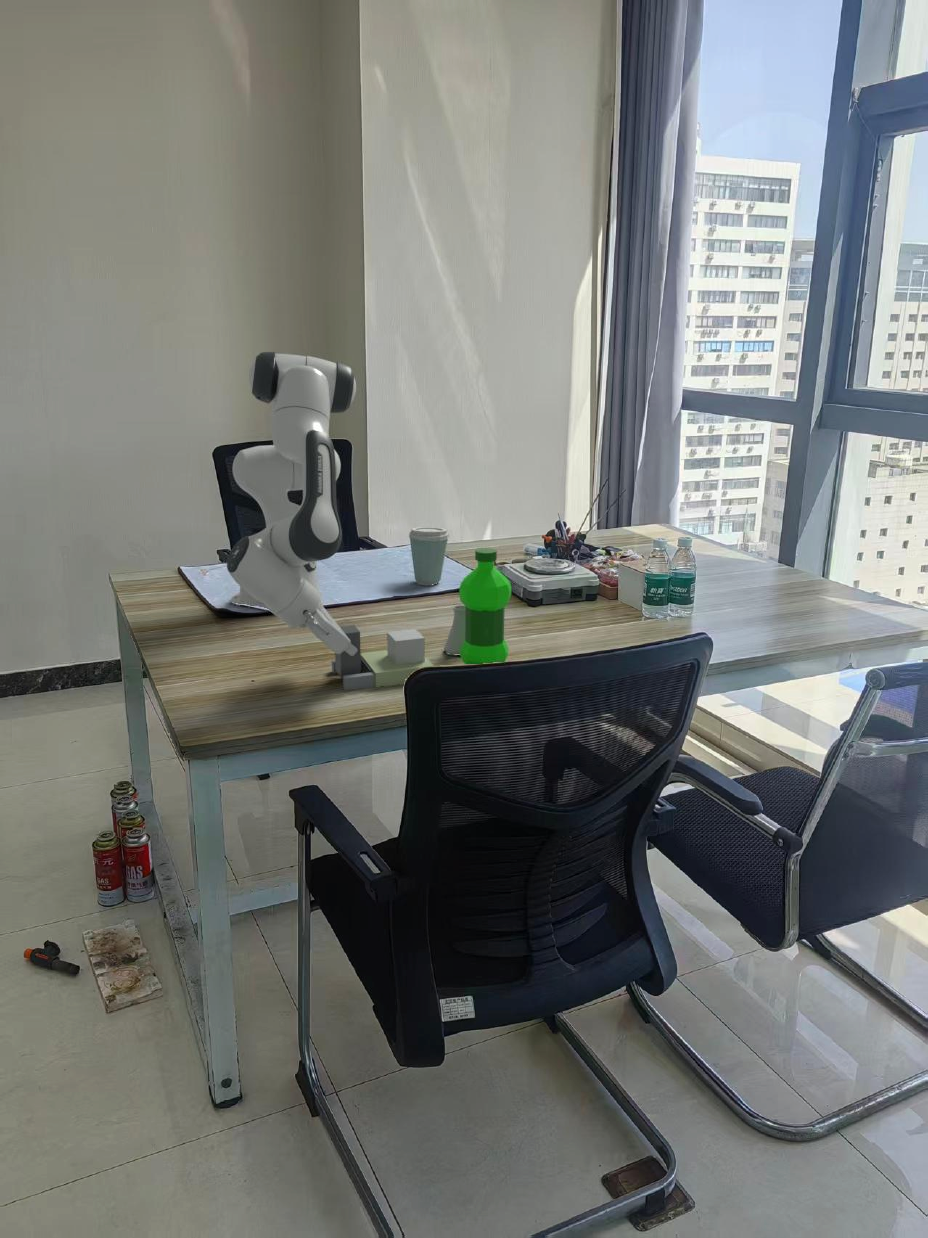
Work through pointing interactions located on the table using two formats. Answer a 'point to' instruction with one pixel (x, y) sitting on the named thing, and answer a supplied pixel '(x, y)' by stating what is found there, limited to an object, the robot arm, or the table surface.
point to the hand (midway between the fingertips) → (350, 647)
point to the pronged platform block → (389, 661)
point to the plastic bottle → (484, 611)
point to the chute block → (344, 660)
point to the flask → (456, 631)
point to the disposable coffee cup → (428, 553)
